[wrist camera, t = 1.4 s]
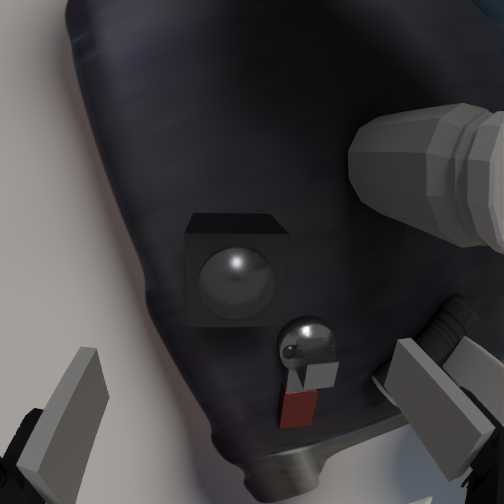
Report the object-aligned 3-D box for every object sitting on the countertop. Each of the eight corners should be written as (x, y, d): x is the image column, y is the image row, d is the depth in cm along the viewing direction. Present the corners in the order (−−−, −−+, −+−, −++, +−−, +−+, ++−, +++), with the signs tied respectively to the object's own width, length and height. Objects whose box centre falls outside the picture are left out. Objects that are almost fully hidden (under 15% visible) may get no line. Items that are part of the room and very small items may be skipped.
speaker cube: (193, 212, 28) (183, 234, 20) (270, 214, 29) (291, 235, 21) (194, 285, 30) (187, 329, 22) (266, 285, 31) (283, 328, 23)
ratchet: (279, 317, 32) (292, 352, 26) (333, 314, 33) (356, 346, 27) (269, 418, 36) (277, 456, 30) (314, 414, 37) (328, 449, 31)
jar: (329, 128, 27) (463, 105, 10) (410, 109, 27) (551, 94, 10) (356, 225, 30) (484, 299, 13) (431, 197, 30) (564, 240, 13)
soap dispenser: (481, 343, 38) (570, 422, 17) (457, 376, 39) (536, 464, 18) (463, 331, 37) (564, 420, 16) (437, 368, 38) (524, 467, 17)
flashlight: (450, 283, 34) (477, 299, 29) (463, 306, 36) (488, 324, 31) (365, 370, 36) (383, 396, 31) (385, 387, 38) (402, 412, 32)
